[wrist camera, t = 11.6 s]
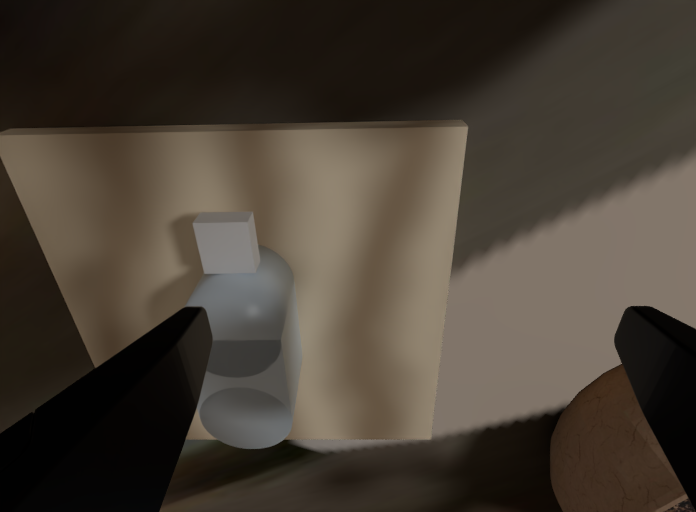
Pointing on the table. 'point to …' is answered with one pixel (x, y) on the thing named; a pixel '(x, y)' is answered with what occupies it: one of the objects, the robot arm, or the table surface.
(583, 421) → the potted plant
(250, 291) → the usb stick
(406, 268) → the birch board
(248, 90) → the table surface
